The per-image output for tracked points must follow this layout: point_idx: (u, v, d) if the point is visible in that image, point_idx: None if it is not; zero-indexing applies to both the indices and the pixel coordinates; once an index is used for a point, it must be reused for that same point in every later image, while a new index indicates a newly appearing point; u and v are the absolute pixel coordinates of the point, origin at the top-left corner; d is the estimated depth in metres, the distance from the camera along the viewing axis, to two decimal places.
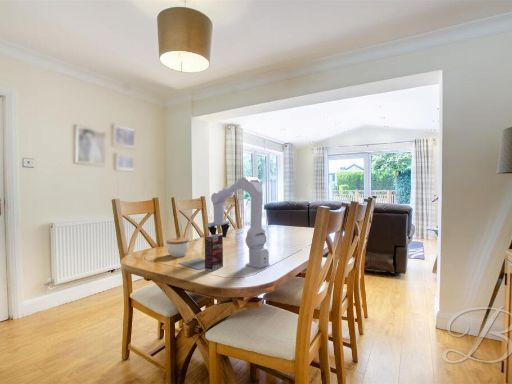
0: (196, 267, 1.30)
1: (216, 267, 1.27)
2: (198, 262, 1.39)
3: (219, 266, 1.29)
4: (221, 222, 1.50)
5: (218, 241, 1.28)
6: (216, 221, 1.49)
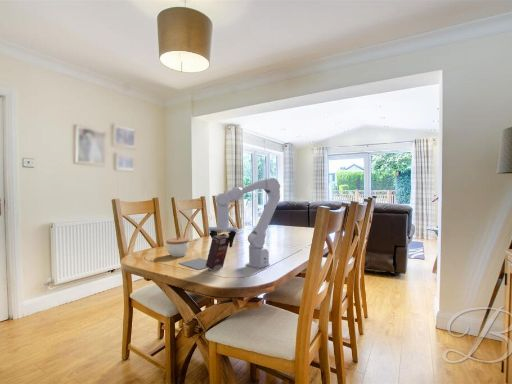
0: (196, 267, 1.30)
1: (216, 267, 1.27)
2: (198, 262, 1.39)
3: (219, 266, 1.29)
4: (219, 228, 1.26)
5: (225, 243, 1.26)
6: (217, 226, 1.29)
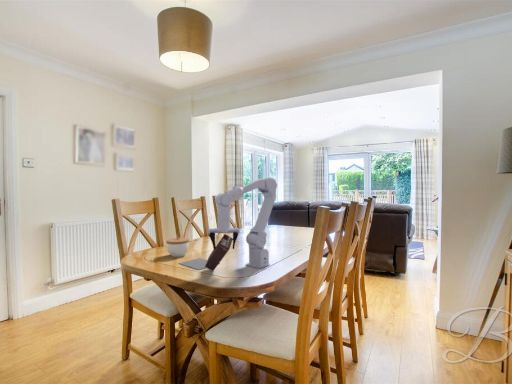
0: (196, 267, 1.30)
1: None
2: (198, 262, 1.39)
3: None
4: (222, 229, 1.21)
5: None
6: (218, 227, 1.23)
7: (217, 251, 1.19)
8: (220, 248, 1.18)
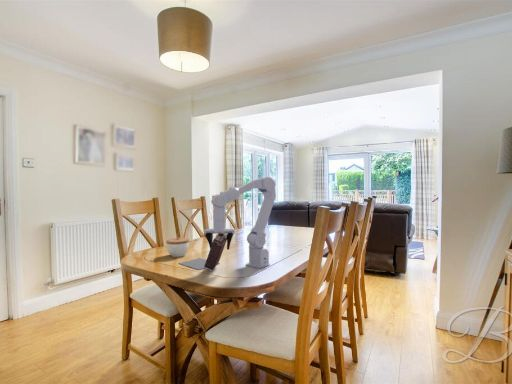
0: (196, 267, 1.30)
1: (215, 266, 1.27)
2: (198, 262, 1.39)
3: None
4: (216, 230, 1.23)
5: (224, 243, 1.25)
6: (213, 228, 1.25)
7: (212, 247, 1.21)
8: (214, 243, 1.20)
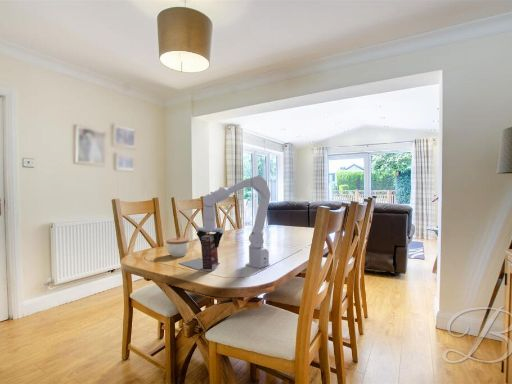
0: (196, 267, 1.30)
1: (214, 266, 1.27)
2: (198, 262, 1.39)
3: (216, 265, 1.29)
4: (205, 228, 1.28)
5: (213, 240, 1.28)
6: None
7: (202, 246, 1.24)
8: (202, 241, 1.24)
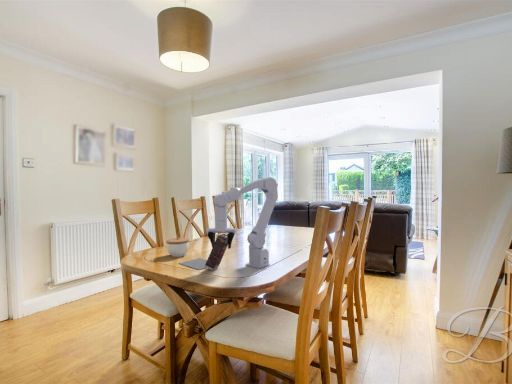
0: (196, 267, 1.30)
1: (215, 267, 1.27)
2: (198, 262, 1.39)
3: (217, 266, 1.29)
4: (218, 229, 1.25)
5: (227, 243, 1.28)
6: (215, 227, 1.27)
7: (215, 244, 1.24)
8: (218, 240, 1.24)
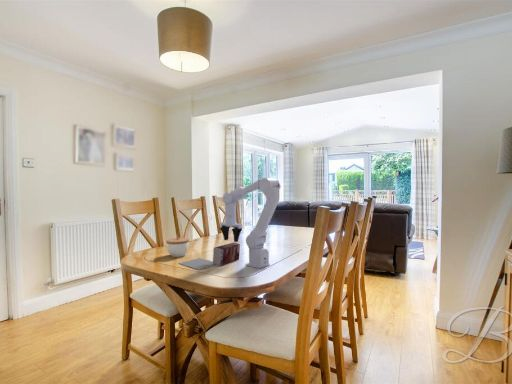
0: (196, 267, 1.30)
1: (221, 255, 1.33)
2: (198, 262, 1.39)
3: (220, 260, 1.33)
4: (226, 223, 1.41)
5: (236, 253, 1.43)
6: None
7: None
8: (233, 243, 1.45)
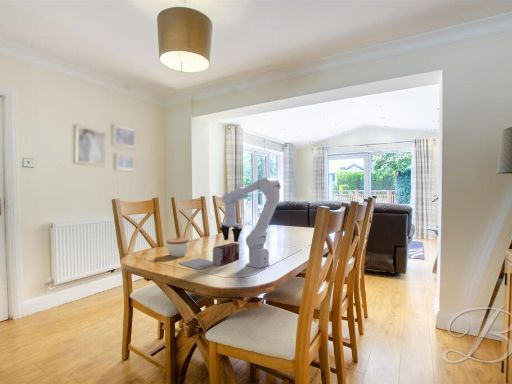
0: (196, 267, 1.30)
1: (220, 254, 1.33)
2: (198, 262, 1.39)
3: (220, 259, 1.33)
4: (226, 223, 1.41)
5: (236, 253, 1.43)
6: None
7: (229, 244, 1.44)
8: (232, 243, 1.45)
